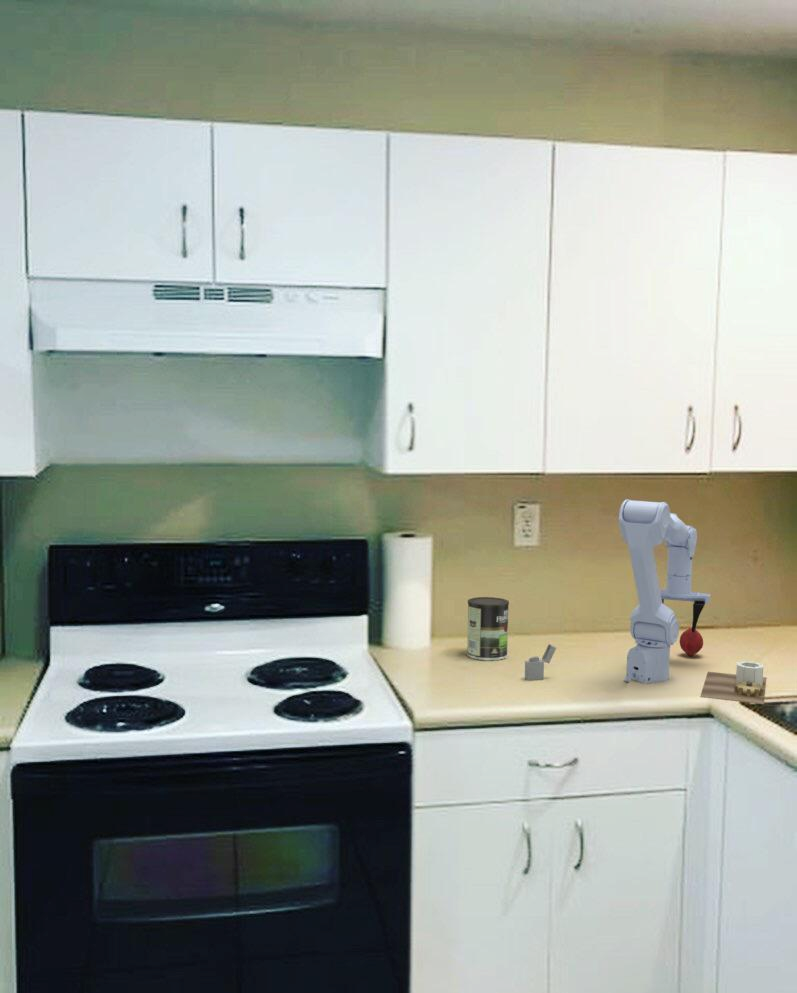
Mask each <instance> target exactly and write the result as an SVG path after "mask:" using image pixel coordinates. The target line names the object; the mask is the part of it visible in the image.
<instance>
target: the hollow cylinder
mask: <svg viewBox="0 0 797 993" xmlns="http://www.w3.org/2000/svg"><path fill="white" fill-rule="evenodd" d="M763 677H764V664H762V663H759V662H756V661H737V662H736V683H740V682H747V681H750V682H752V683H755V684H756V683H758V684H760V685H761V686H762V684H763Z"/></svg>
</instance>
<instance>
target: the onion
mask: <svg viewBox="0 0 797 993" xmlns="http://www.w3.org/2000/svg"><path fill="white" fill-rule="evenodd" d="M679 646H680V649H681V650H682V651H683V652H684V653H685V654H686V655H687V656H688V657H693V656H694V655H697V654H698V652H700V651H701V650H702V648H703V647H704V639H703V636H702V635H701V633H700V632H699V631H698V630H697V629H696V630H695V632H692V624H691V625H690V626H689V627H688V629H686V630H684V631H683V632H682V633H681V635H680V637H679Z"/></svg>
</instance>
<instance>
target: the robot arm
mask: <svg viewBox="0 0 797 993" xmlns="http://www.w3.org/2000/svg"><path fill="white" fill-rule="evenodd" d="M618 526H619V529H620V534H621V538H622V540H623V542H625V543H626V544H627V546H628V552H629V557H630V563H631V567H632V572H633V577H634V583H635V587H636V593H637V597H638V603H639V604H638V605H636V606H635V607H634V608H633V610H632V612H631V615H630V618H629V620H630V625H629V626H630V627H629V629H630V630H629V631H630V635H631V637H632V639H633V640H635V644H636V645H635V646H634V647H631V648H630V649H629V650H628V652H627V655H626V673H625V675H626V676H625V677H624V678H623V681H625V682H627V683H630V681H631V680H633V681H637V682H639V683H642V684H650V683H656V682H657V683H658V682H666V681H669V678H670V658H671V657H670V655H671V654H670V653H671V647H672V646H673V645H674V644H675V643H676V642H677V640H678V638H679V633H680V624H679V621H678V619H677V618H676V614H675V612H674V610H673V609H672V608H670V607H669V606H667V605H665V604H664V603H665V602H664V601H665V600H667V601H681V602H683V601H684V602H691V603H692V602H693V604H692V624H691V625H692V632H695V630H697V624H698V620H699V618H700V615H701V613H702V611H703V609H704V608H705V605H706V604H710V603H711V594H710V593H702V592H695V591H692V575H693V557H694V556H695V553H696V545H697V543H698V542H697V541H698V533H697V532H698V531H697V529H696V528H695V527H693V525H686V524H685V523H684V521H683V520H681V519H680V518H679V517H678V515H677V514H676V513H672V512H671V509H670V506H669V504H668V503H667V502H665V501H662V502H658V501H645V500H632V499H629V498H628V499H627V498H626V499H625V500H624V501H623V502H622V503H621V504H620V508H619V514H618ZM663 542H664V545H665V547H666V548H667V566H666V567H667V571H666V589H661V588H660V582H659V575H658V571H657V565H656V560H655V554H654V548H655V547H657V546H659V545H661V544H663Z"/></svg>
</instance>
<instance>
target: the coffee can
mask: <svg viewBox="0 0 797 993" xmlns="http://www.w3.org/2000/svg"><path fill="white" fill-rule="evenodd" d="M509 605H510V601H509V600H508V599H505V598H500V597H495V596H494V597H491V596H479V597H472V598H468V600H467V651H466V652H467V653H466V655H468V656H469V657H468V656H467V657H468V658H470V659H473V658H474V659H473V660H477V659H478V660H479V661H489V662H490V661H491V662H492V661H501V659H502V660H505V659H507V658H508V640H509V639H508V637H509V636H508V632H509ZM506 657H507V658H506ZM504 658H505V659H504Z"/></svg>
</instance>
